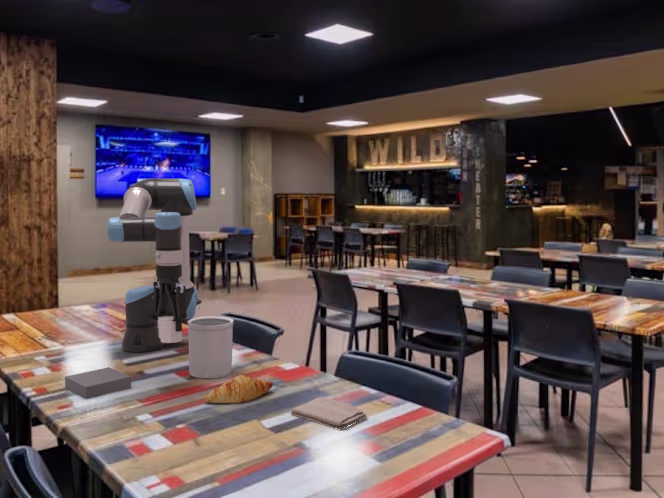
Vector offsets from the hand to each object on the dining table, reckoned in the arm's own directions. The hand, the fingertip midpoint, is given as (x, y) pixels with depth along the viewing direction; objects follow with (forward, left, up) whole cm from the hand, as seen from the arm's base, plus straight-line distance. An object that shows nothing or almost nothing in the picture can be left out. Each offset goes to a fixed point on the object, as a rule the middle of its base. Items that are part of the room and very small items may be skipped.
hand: (170, 339), depth 182 cm
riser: (+15, -16, -15) cm, 27 cm away
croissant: (-8, +22, -15) cm, 28 cm away
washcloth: (-15, +51, -16) cm, 56 cm away
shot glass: (0, 0, -1) cm, 1 cm away
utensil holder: (-18, -4, -15) cm, 24 cm away
